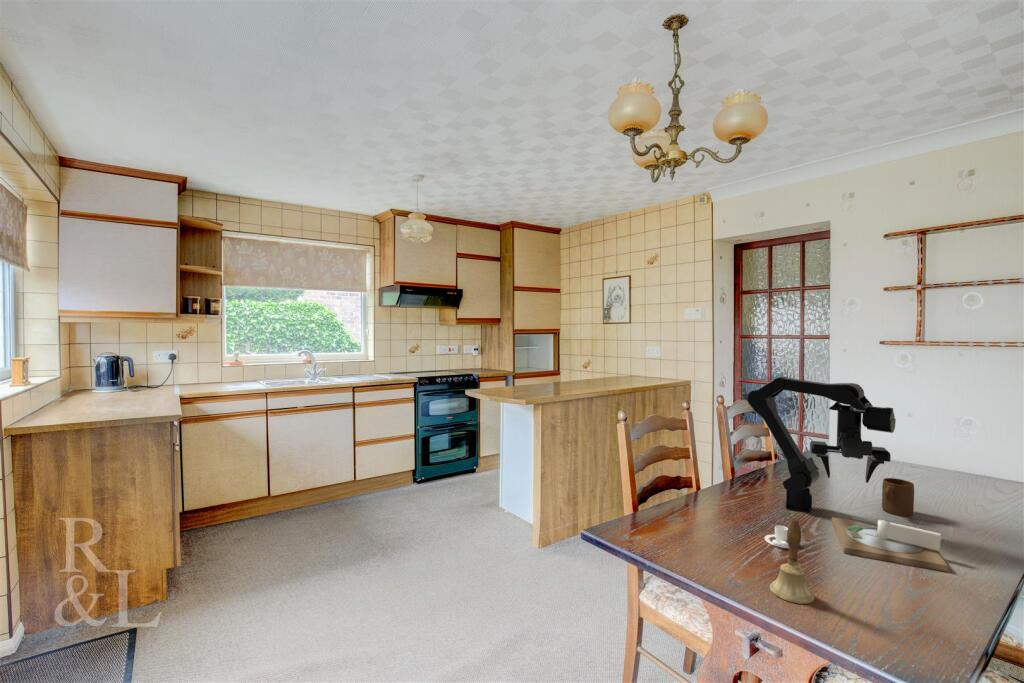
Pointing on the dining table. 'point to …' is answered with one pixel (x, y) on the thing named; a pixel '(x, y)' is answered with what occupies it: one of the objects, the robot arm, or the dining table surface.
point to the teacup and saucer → (779, 537)
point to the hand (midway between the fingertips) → (847, 480)
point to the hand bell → (792, 572)
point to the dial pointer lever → (905, 534)
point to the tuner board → (883, 546)
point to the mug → (898, 497)
